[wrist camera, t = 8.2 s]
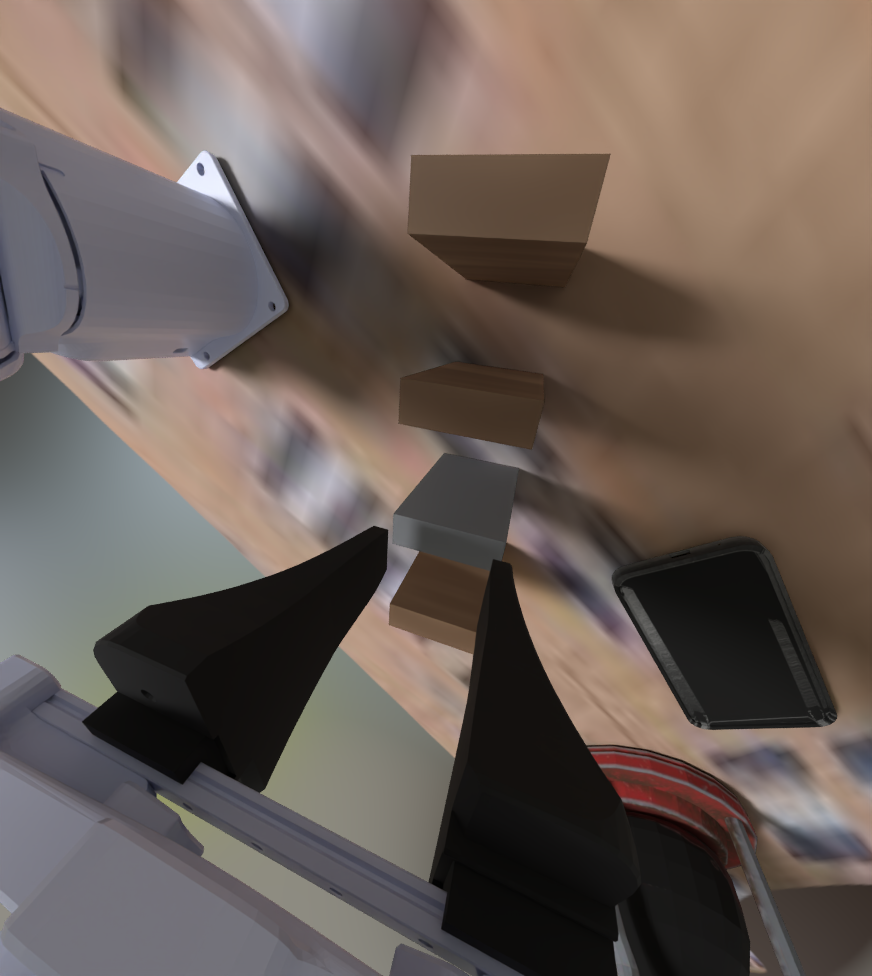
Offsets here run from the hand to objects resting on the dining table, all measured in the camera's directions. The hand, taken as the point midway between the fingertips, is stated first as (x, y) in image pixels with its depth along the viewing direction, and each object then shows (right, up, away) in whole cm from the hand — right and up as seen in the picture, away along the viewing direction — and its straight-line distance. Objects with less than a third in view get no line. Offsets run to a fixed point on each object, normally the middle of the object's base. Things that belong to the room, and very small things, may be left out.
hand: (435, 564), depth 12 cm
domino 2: (+3, +9, +6) cm, 11 cm away
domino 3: (+3, +4, +8) cm, 9 cm away
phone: (+18, -7, +9) cm, 21 cm away
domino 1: (+4, +14, +3) cm, 14 cm away
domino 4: (+2, -1, +11) cm, 11 cm away
